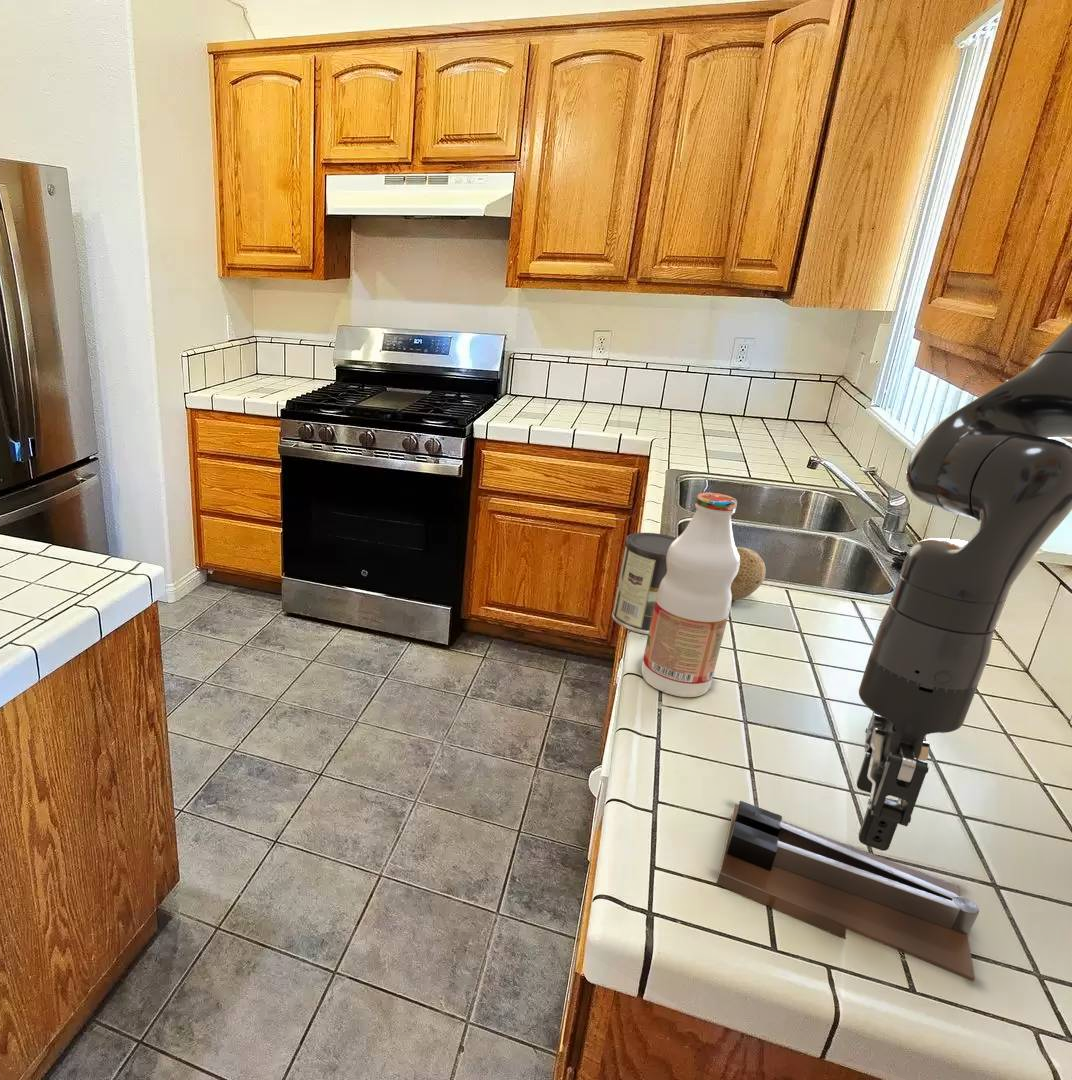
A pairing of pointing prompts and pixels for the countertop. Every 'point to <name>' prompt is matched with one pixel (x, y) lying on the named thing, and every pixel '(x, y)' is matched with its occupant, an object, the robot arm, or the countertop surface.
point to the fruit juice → (693, 601)
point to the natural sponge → (747, 574)
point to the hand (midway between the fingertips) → (870, 816)
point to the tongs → (843, 869)
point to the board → (850, 908)
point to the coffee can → (640, 580)
